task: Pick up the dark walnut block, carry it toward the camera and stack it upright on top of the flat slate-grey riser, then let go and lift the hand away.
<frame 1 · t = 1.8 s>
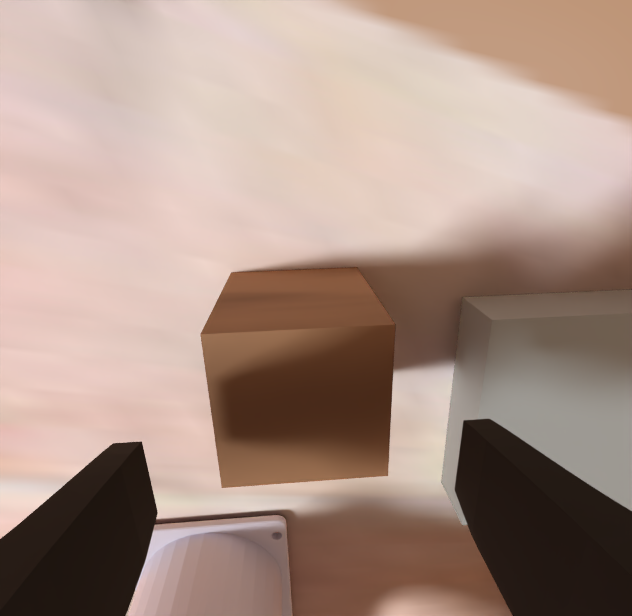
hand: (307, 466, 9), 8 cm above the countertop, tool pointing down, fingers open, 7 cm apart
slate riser: (547, 387, 19), on the countertop
walnut block: (297, 327, 17), on the countertop
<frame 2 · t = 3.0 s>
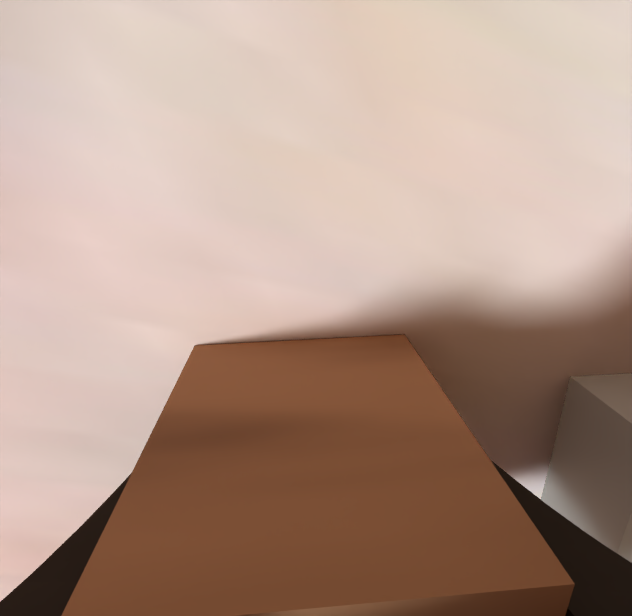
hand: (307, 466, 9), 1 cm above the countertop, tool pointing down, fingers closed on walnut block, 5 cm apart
walnut block: (304, 426, 10), on the countertop, touching gripper
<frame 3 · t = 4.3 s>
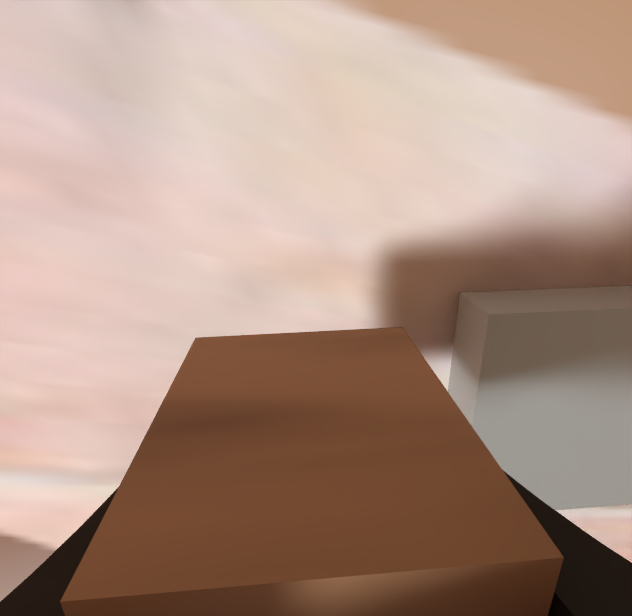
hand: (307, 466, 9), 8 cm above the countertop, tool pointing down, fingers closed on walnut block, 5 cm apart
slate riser: (543, 382, 19), on the countertop
walnut block: (304, 418, 10), point 7 cm above the countertop, touching gripper
when the fingers open (5 cm above the countertop, at t = 6.1 s): walnut block drops 1 cm, point 2 cm above the countertop.
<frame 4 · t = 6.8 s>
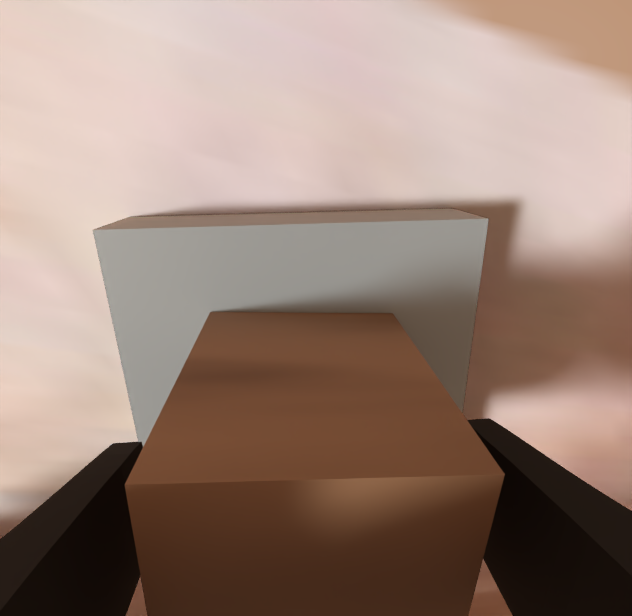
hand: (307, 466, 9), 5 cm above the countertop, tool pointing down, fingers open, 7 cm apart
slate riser: (299, 349, 14), on the countertop
walnut block: (301, 391, 12), point 2 cm above the countertop
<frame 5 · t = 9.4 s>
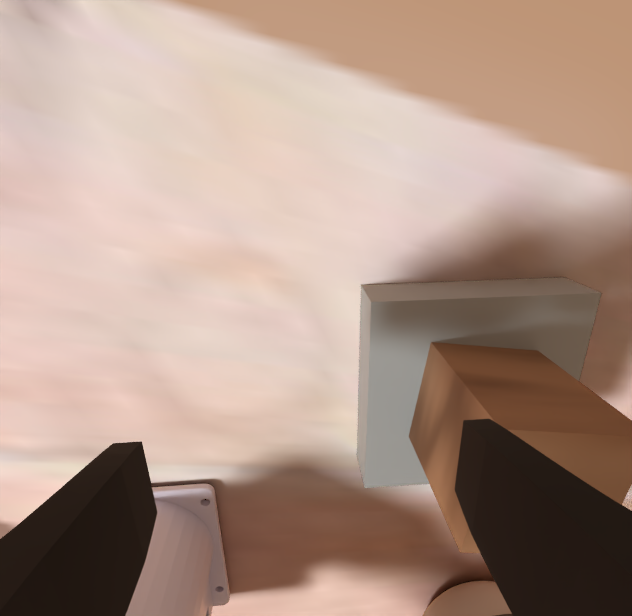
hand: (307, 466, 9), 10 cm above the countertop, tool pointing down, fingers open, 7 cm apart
black egg figure: (466, 604, 28), on the countertop
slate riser: (448, 366, 21), on the countertop, touching walnut block
walnut block: (471, 394, 18), point 2 cm above the countertop, touching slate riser
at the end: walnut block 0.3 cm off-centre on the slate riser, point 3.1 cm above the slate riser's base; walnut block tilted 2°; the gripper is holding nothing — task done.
